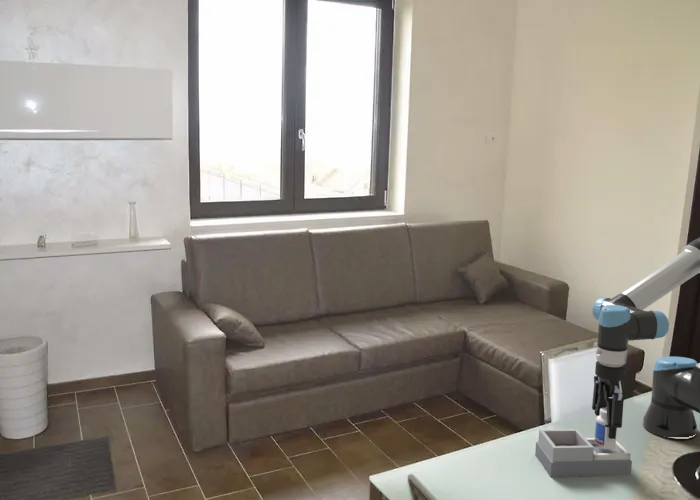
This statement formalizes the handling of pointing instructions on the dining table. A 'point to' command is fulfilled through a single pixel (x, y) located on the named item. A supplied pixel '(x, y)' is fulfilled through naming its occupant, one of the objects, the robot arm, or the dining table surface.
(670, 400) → the robot arm
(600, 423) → the pill bottle
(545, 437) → the grey compartment organizer
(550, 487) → the dining table surface
